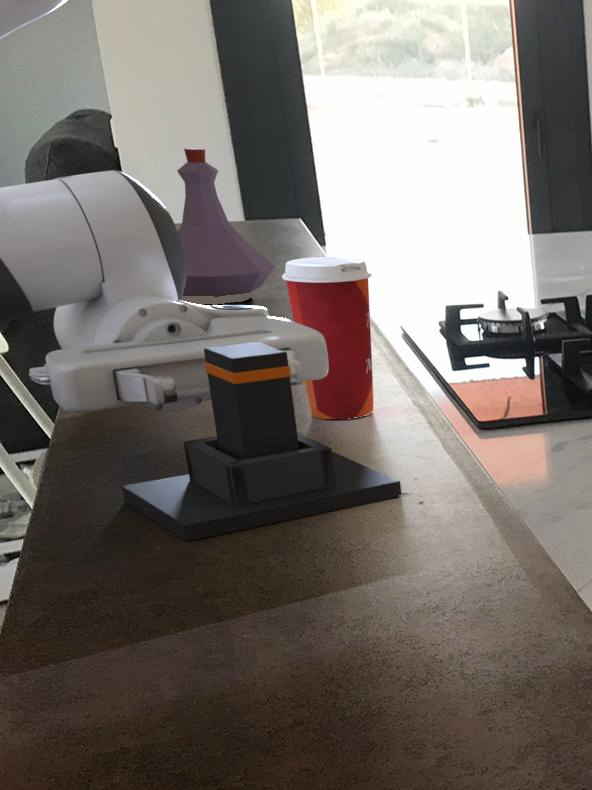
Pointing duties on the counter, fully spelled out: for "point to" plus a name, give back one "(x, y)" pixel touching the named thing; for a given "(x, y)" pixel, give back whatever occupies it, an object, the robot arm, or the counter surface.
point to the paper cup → (336, 331)
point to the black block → (251, 400)
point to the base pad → (256, 489)
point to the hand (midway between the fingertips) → (232, 383)
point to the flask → (214, 238)
